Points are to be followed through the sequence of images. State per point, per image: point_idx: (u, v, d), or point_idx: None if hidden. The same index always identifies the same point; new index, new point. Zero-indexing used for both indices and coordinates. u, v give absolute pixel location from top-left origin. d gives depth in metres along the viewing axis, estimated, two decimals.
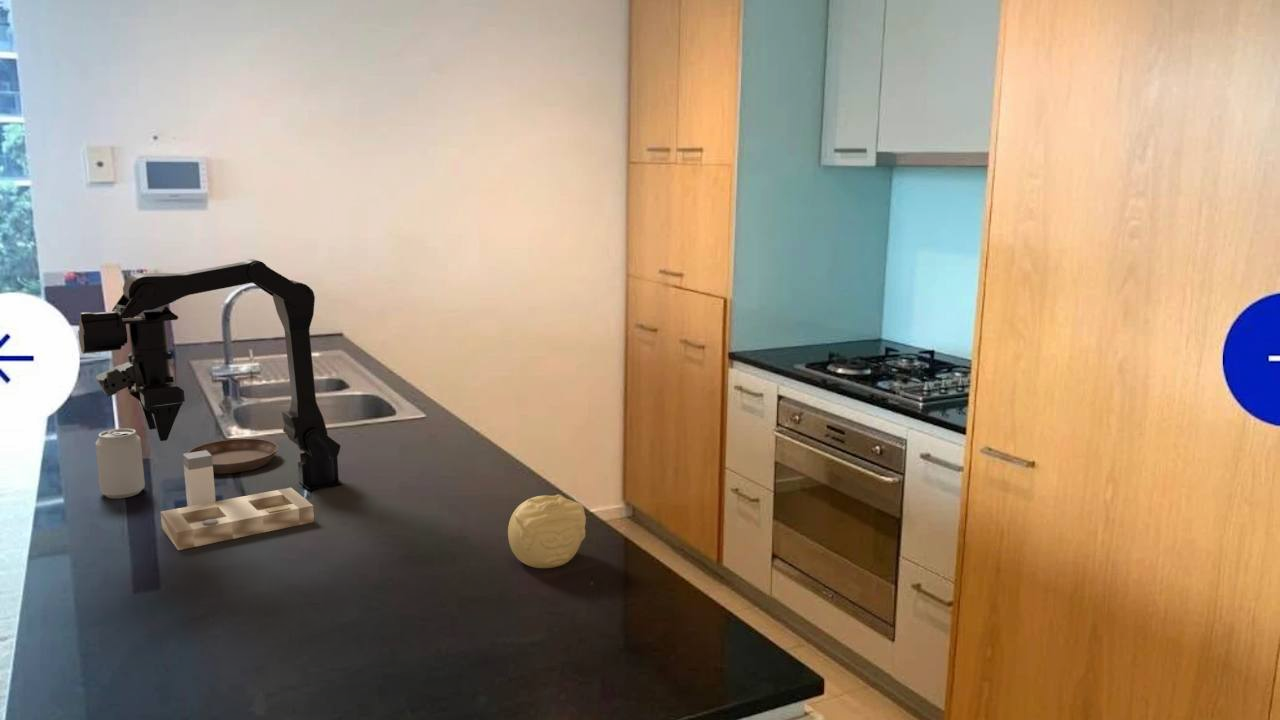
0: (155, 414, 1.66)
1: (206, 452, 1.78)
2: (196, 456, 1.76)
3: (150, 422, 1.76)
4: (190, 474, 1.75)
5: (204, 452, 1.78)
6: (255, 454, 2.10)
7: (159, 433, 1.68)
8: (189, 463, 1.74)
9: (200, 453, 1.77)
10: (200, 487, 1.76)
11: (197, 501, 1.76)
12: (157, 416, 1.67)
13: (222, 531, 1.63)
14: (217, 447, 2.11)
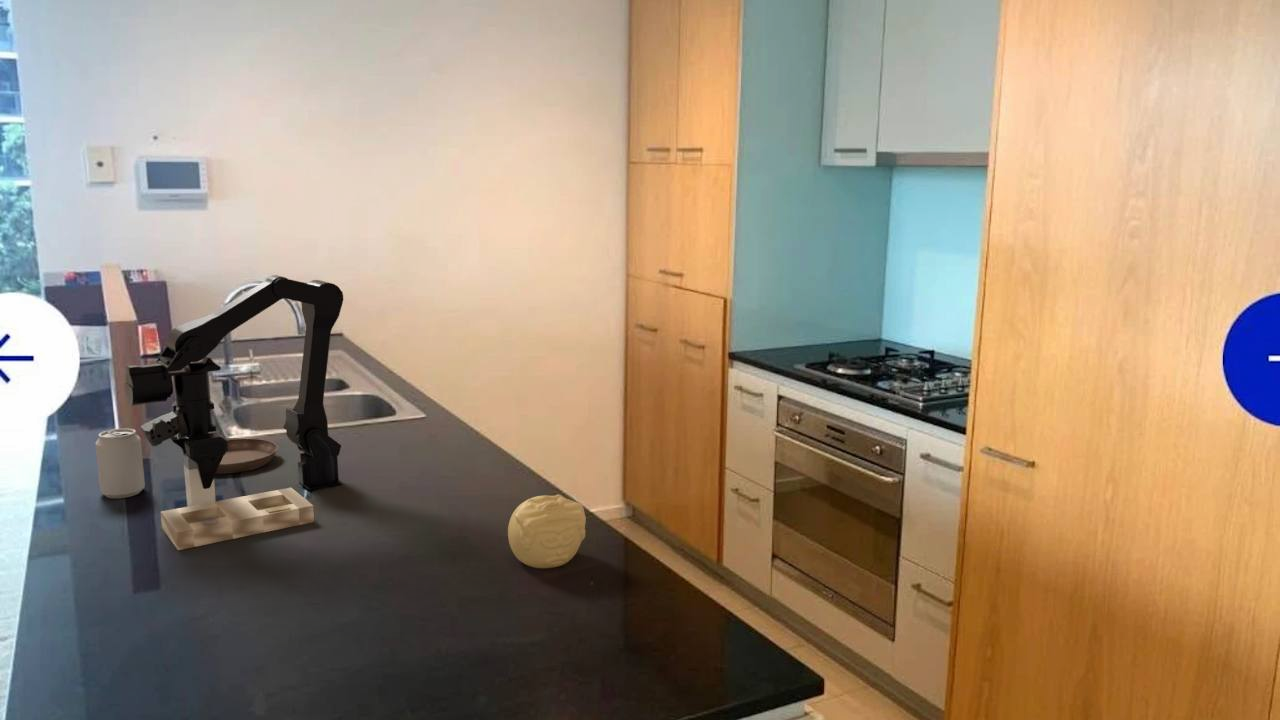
0: (199, 463, 1.71)
1: None
2: None
3: None
4: (190, 474, 1.75)
5: None
6: (255, 454, 2.10)
7: (202, 481, 1.73)
8: (189, 463, 1.74)
9: None
10: (200, 487, 1.76)
11: (197, 501, 1.76)
12: (201, 465, 1.72)
13: (222, 531, 1.63)
14: None
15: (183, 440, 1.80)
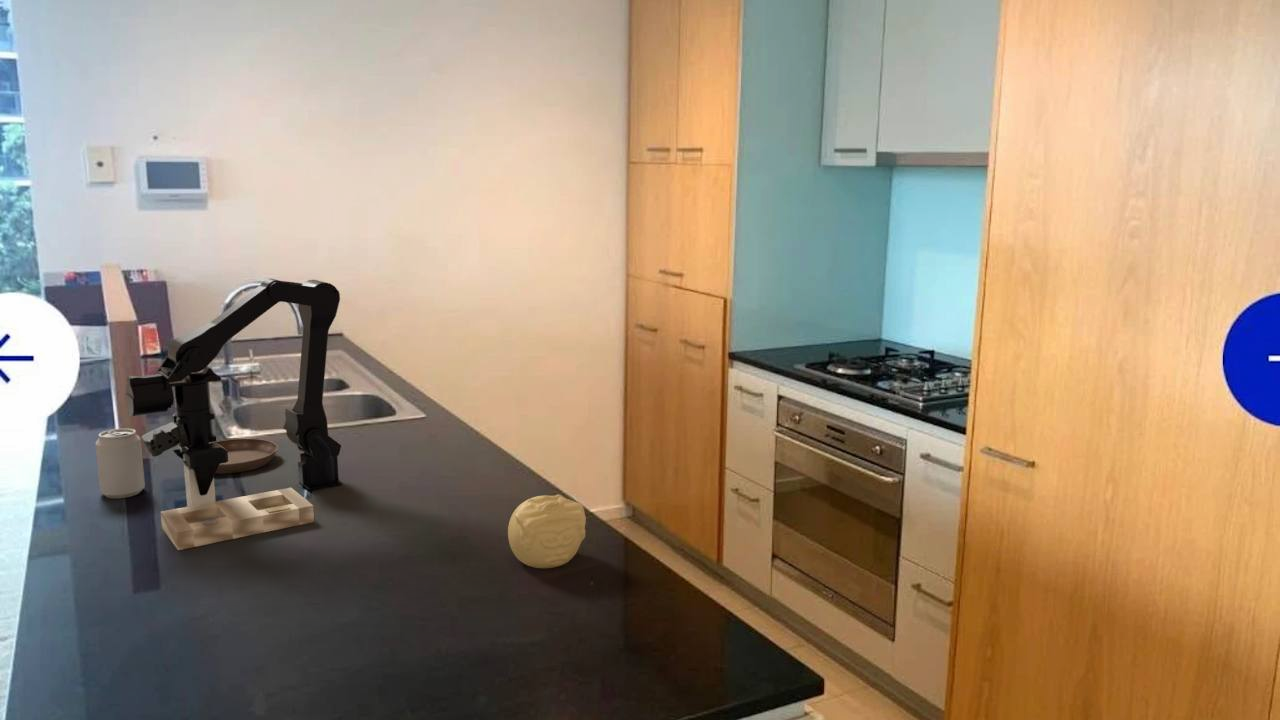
0: (196, 470, 1.73)
1: None
2: None
3: None
4: (190, 474, 1.75)
5: None
6: (255, 454, 2.10)
7: (199, 488, 1.75)
8: None
9: None
10: None
11: (197, 501, 1.76)
12: (198, 472, 1.74)
13: (222, 531, 1.63)
14: None
15: None
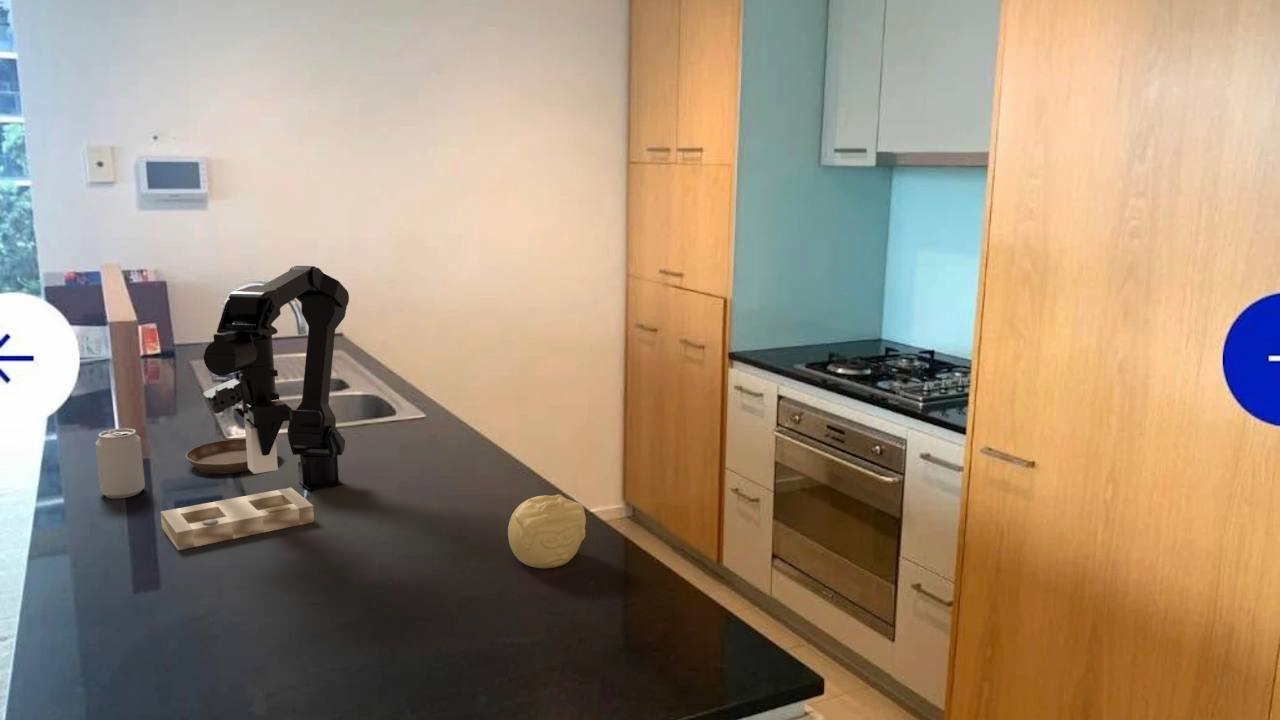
0: (259, 429, 1.66)
1: None
2: None
3: None
4: (252, 433, 1.68)
5: None
6: None
7: (262, 448, 1.69)
8: None
9: None
10: None
11: (259, 462, 1.69)
12: (260, 431, 1.67)
13: (222, 531, 1.63)
14: (217, 447, 2.11)
15: None
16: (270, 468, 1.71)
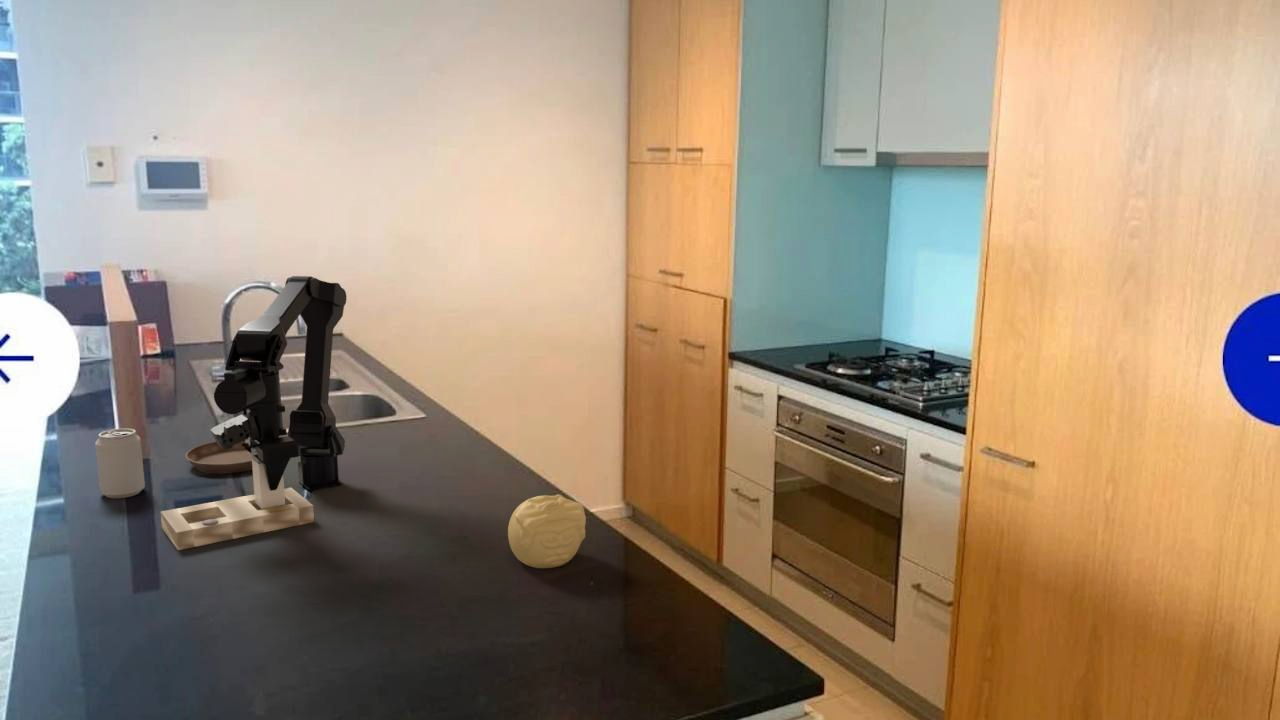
0: (267, 465, 1.68)
1: None
2: None
3: None
4: (260, 468, 1.69)
5: None
6: None
7: (269, 483, 1.70)
8: None
9: None
10: None
11: (266, 497, 1.70)
12: (268, 467, 1.68)
13: (222, 531, 1.63)
14: (217, 447, 2.11)
15: None
16: (277, 502, 1.72)
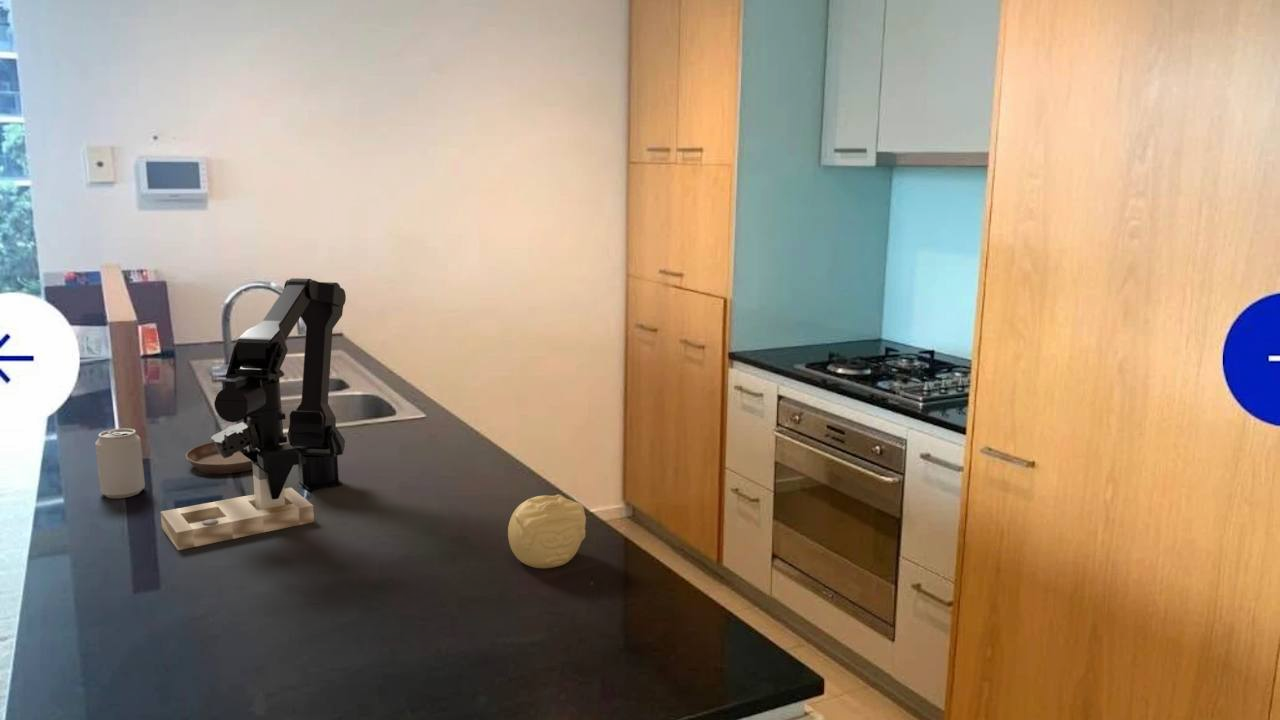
0: (269, 473, 1.67)
1: None
2: None
3: None
4: (261, 484, 1.69)
5: None
6: None
7: (271, 492, 1.69)
8: (260, 473, 1.69)
9: None
10: (270, 498, 1.71)
11: None
12: (270, 476, 1.67)
13: (222, 531, 1.63)
14: None
15: (254, 453, 1.73)
16: None
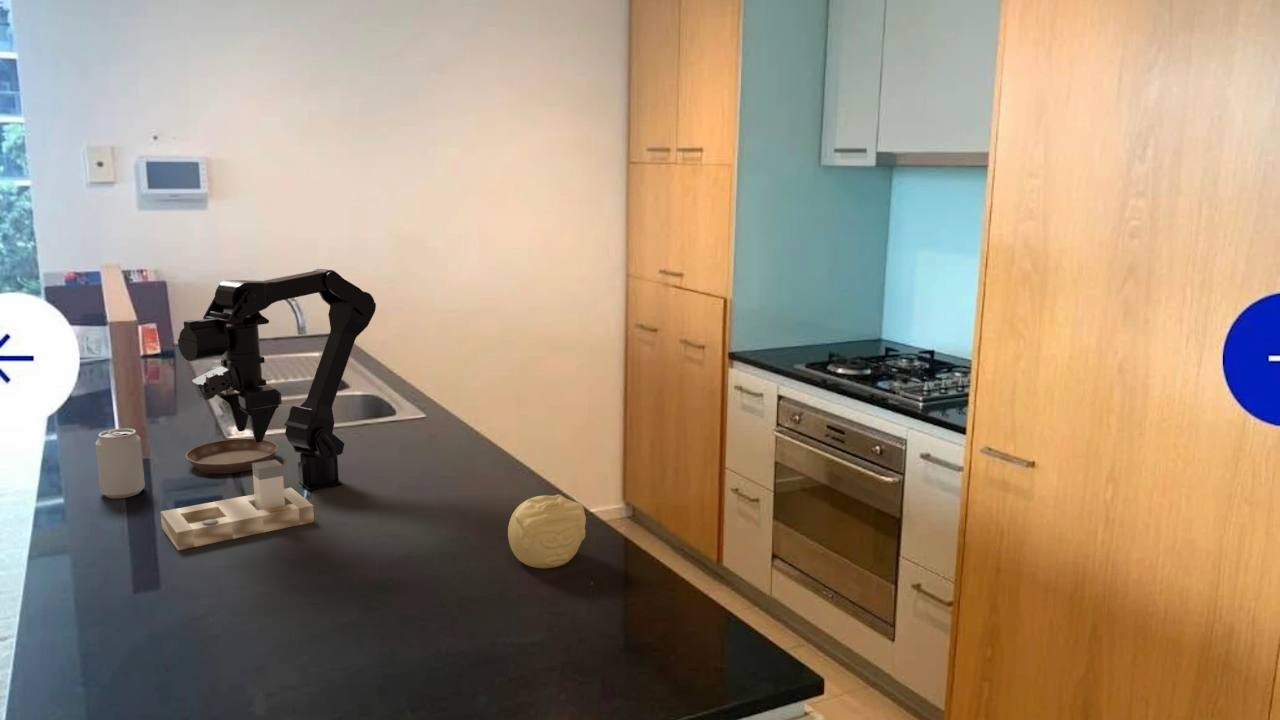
0: (253, 416, 1.72)
1: (276, 461, 1.73)
2: (266, 466, 1.70)
3: (239, 424, 1.81)
4: (260, 484, 1.69)
5: (274, 461, 1.73)
6: (255, 454, 2.10)
7: (255, 435, 1.74)
8: (260, 473, 1.69)
9: (270, 462, 1.72)
10: (270, 498, 1.71)
11: None
12: (254, 419, 1.72)
13: (222, 531, 1.63)
14: (217, 447, 2.11)
15: (230, 396, 1.80)
16: None
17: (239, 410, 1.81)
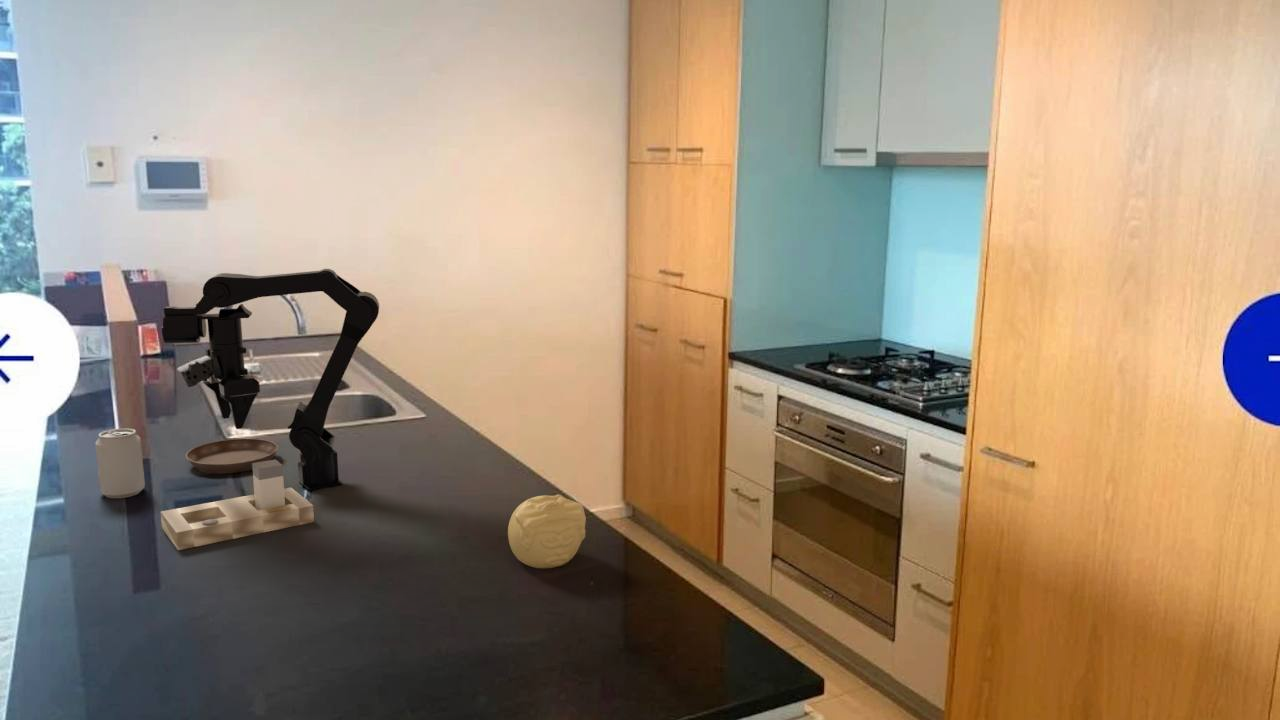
0: (232, 404, 1.80)
1: (276, 461, 1.73)
2: (266, 466, 1.70)
3: (224, 412, 1.89)
4: (260, 484, 1.69)
5: (274, 461, 1.73)
6: (255, 454, 2.10)
7: (235, 421, 1.82)
8: (260, 473, 1.69)
9: (270, 462, 1.72)
10: (270, 498, 1.71)
11: None
12: (234, 406, 1.80)
13: (222, 531, 1.63)
14: (218, 447, 2.11)
15: (216, 384, 1.88)
16: None
17: (224, 398, 1.89)
